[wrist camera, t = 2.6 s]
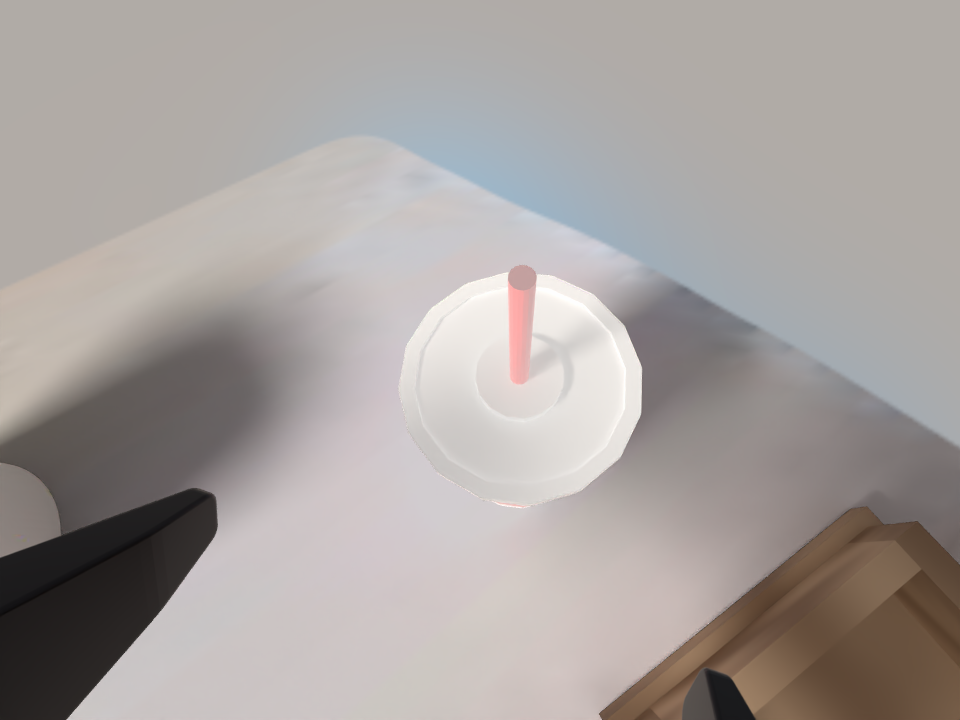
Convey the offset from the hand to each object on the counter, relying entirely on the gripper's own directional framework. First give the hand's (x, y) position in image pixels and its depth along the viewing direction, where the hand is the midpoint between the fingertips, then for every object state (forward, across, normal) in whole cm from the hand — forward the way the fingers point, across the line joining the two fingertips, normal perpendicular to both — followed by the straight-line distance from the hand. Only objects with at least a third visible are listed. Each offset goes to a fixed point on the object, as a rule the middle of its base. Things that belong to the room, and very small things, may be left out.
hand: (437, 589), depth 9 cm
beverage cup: (+12, 0, +5) cm, 13 cm away
